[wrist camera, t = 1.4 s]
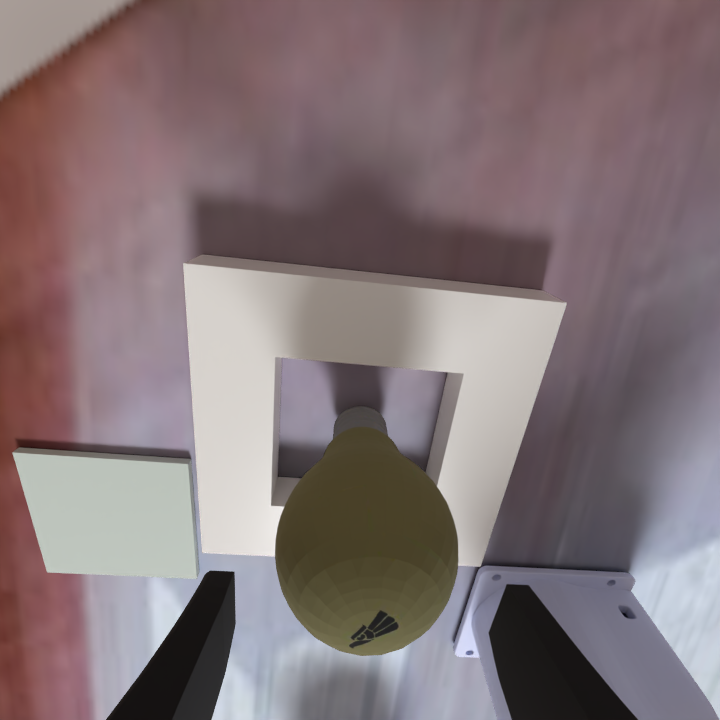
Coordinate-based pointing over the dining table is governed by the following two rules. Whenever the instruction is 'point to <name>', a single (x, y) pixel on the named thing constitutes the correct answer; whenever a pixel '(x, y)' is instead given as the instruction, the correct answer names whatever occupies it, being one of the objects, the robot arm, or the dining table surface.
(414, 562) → the light bulb
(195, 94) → the dining table surface
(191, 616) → the robot arm
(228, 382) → the socket block
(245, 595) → the dining table surface
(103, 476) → the rubber pad
